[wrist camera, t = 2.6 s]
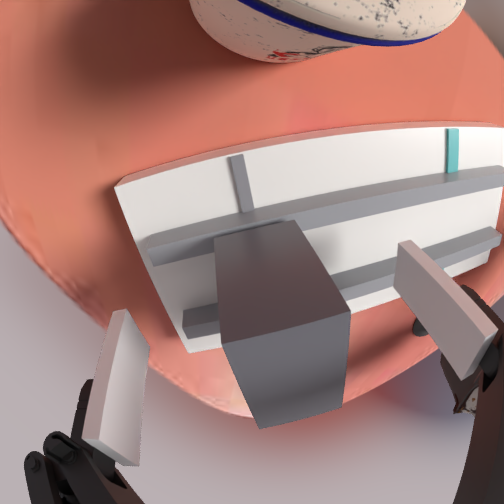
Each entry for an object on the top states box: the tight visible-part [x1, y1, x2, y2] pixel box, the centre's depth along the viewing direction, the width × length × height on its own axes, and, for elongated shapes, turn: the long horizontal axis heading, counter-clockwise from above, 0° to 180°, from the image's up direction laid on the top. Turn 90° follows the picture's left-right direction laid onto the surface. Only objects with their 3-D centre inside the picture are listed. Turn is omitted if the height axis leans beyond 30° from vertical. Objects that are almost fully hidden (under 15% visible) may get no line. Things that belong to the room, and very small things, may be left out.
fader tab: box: [214, 219, 351, 429], centre depth 12 cm, size 6×4×8 cm, turn 11°
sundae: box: [413, 318, 482, 417], centre depth 18 cm, size 7×7×15 cm
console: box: [114, 121, 504, 353], centre depth 16 cm, size 12×26×4 cm, turn 101°
